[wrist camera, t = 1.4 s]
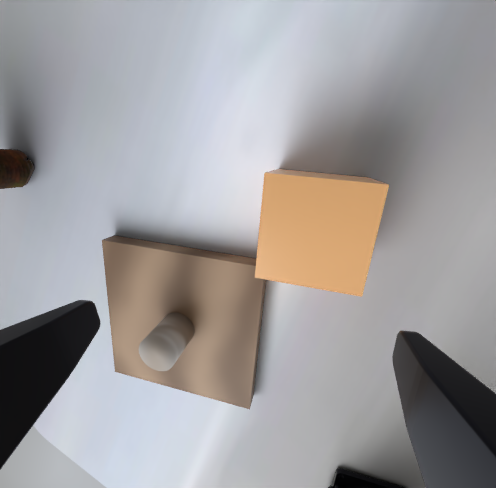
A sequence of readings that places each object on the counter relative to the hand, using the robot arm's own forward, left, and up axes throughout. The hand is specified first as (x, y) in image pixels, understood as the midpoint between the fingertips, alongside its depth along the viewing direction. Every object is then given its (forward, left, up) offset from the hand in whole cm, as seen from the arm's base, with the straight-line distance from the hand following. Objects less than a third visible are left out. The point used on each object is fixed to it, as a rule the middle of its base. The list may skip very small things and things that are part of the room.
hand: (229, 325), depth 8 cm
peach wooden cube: (-2, -1, -13) cm, 13 cm away
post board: (+8, +10, -13) cm, 18 cm away
